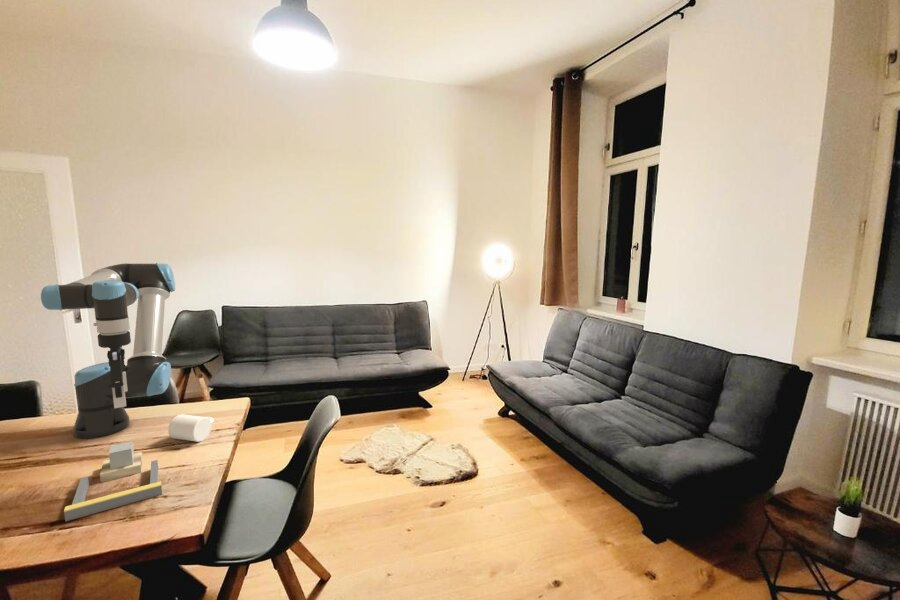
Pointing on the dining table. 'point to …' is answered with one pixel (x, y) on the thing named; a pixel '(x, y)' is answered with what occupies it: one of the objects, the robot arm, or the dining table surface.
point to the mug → (190, 427)
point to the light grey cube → (121, 455)
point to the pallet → (121, 469)
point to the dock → (111, 497)
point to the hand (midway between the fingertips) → (121, 399)
